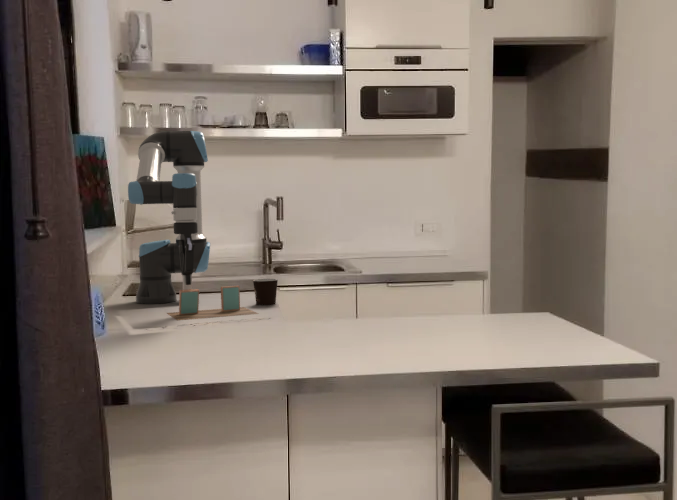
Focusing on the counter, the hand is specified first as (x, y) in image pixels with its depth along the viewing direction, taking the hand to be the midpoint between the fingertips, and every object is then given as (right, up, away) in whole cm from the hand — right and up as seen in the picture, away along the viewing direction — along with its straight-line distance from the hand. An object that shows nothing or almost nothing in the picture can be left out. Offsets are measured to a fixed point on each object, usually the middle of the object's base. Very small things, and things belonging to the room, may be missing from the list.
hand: (187, 294), depth 229 cm
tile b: (+13, -6, +6) cm, 15 cm away
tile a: (0, -6, 0) cm, 6 cm away
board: (+8, -8, +1) cm, 11 cm away
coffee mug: (+23, -6, +22) cm, 33 cm away
